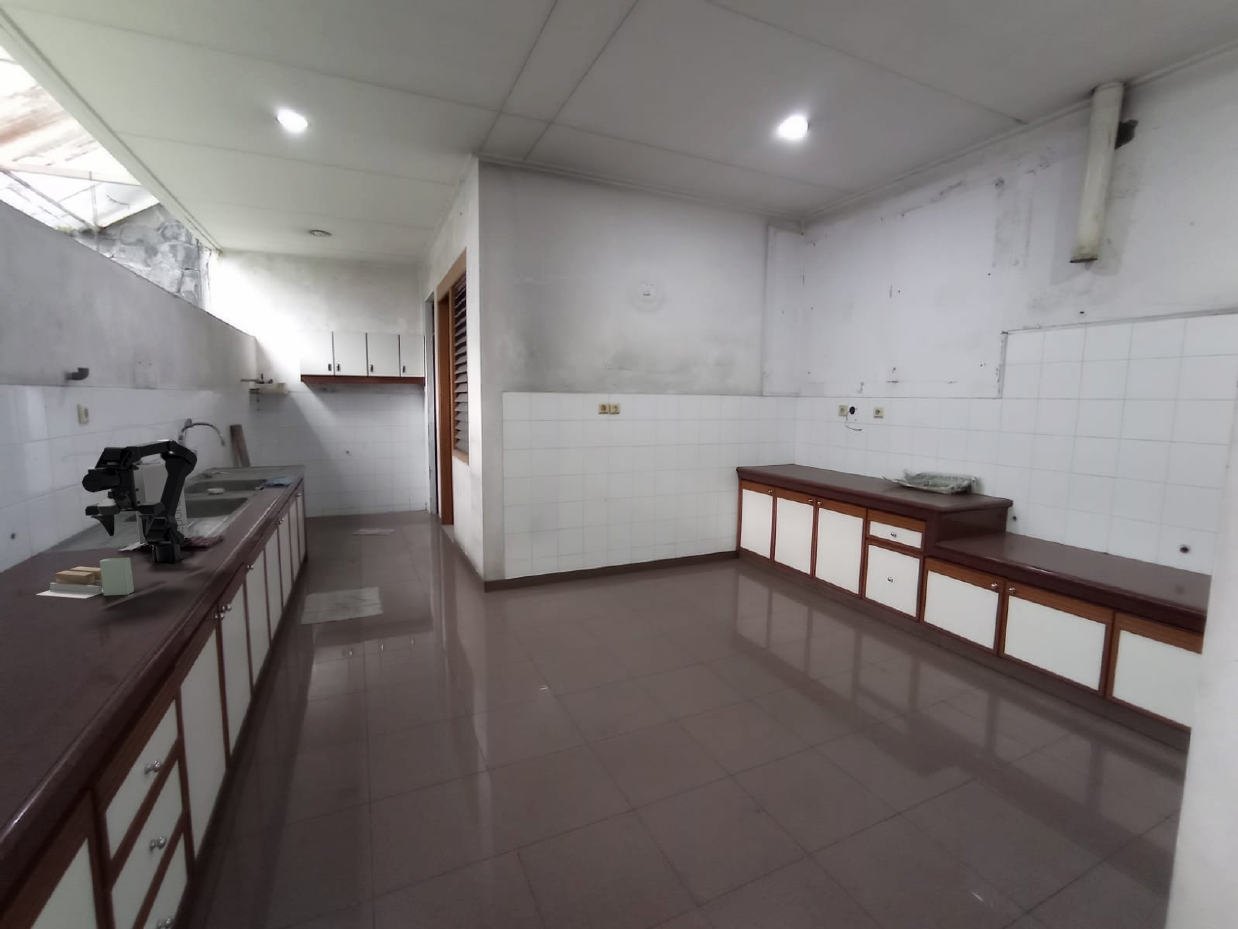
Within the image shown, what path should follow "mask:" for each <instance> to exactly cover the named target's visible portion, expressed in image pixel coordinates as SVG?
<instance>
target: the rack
mask: <svg viewBox="0 0 1238 929" xmlns="http://www.w3.org/2000/svg"><path fill="white" fill-rule="evenodd" d="M99 594H104V593H103V585H102V580H95V586H93V585H79V584H65V583H56V582H49V590H46V591H44V592H43V591H42V592H40V593H36V594H35V595H36V596H44V597H45V596H47V597H62V598H73V599H88V598H90V597H94V596H97V595H99Z"/></svg>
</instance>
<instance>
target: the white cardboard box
mask: <svg viewBox="0 0 1238 929" xmlns="http://www.w3.org/2000/svg"><path fill="white" fill-rule="evenodd" d="M136 466H137V467H139V470H134V479H135V488H139V491H137V492H136V496H137V501H140V504H138V505H142V504H145V503H148V502H160V500H161V496H162V493H163V490H164V486H165V483H166V479H167V476H168V473H167V470H166V468H165V462H160V463H152V464H145V465H144V464H143V465H136ZM185 499H186V498H185V489H184V486H183V489H182V492H181V496H180V499H179V503H178V506H177V510H176V513H175V519H176V521H177V524H178V528H177V530H178V531H179V532H180V533H182V534H183V535H184V536H185V537H189V528H188V519H187V518H188V517H187V516H188V515H187V507H186V500H185ZM139 515H142V514H141V513H140V512H139V511H135V516H136V525H137V531H138V532H137V533H138V542H139V545H140V544H143V543H146V542H147V541H146V539H145V537H144V535H143V531H142V520H141V518H140V517H139ZM189 538H190V537H189Z"/></svg>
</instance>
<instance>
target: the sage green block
mask: <svg viewBox="0 0 1238 929" xmlns="http://www.w3.org/2000/svg"><path fill="white" fill-rule="evenodd" d="M99 568H100V569H101V577H102V585H103V593H102V594H103V596H120V595H121V596H122V595H123V596H124V595H125V596H124V597H129V596H131V597H132V595H133V594H134V595H135V587H134V579H133V570H132V564H131V557H115V558H114V557H112V558H111V557H110V558H109V557H107V558H105V559H102V560H101V559H100V560H99ZM134 595H133V596H134ZM129 598H130V597H129Z"/></svg>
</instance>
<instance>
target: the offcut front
mask: <svg viewBox="0 0 1238 929" xmlns="http://www.w3.org/2000/svg"><path fill="white" fill-rule="evenodd" d="M69 571H76V572H91V573H94V578H95V580H102V577H101V569H100V567H90V566H89V567H88V566H77V567H73V568H70V569H69Z"/></svg>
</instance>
